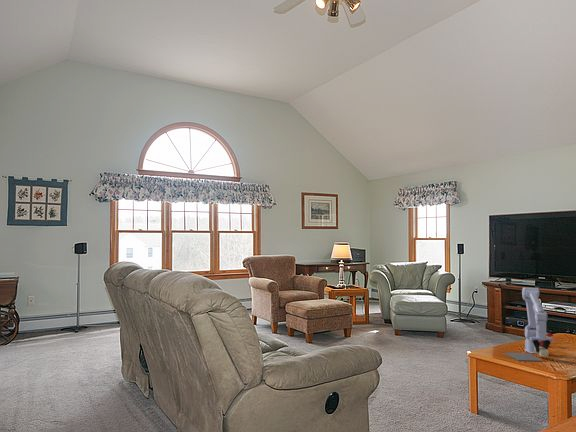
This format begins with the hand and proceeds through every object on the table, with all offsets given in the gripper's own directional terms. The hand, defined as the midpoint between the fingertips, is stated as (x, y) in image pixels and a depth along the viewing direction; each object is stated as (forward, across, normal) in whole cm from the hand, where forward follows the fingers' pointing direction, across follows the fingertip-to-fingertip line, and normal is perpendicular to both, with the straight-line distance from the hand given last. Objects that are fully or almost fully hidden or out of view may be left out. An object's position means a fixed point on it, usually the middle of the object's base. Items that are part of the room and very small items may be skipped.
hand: (541, 351), depth 294 cm
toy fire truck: (+4, +21, +35) cm, 41 cm away
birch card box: (+2, 0, 0) cm, 2 cm away
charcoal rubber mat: (+4, -12, 0) cm, 13 cm away
